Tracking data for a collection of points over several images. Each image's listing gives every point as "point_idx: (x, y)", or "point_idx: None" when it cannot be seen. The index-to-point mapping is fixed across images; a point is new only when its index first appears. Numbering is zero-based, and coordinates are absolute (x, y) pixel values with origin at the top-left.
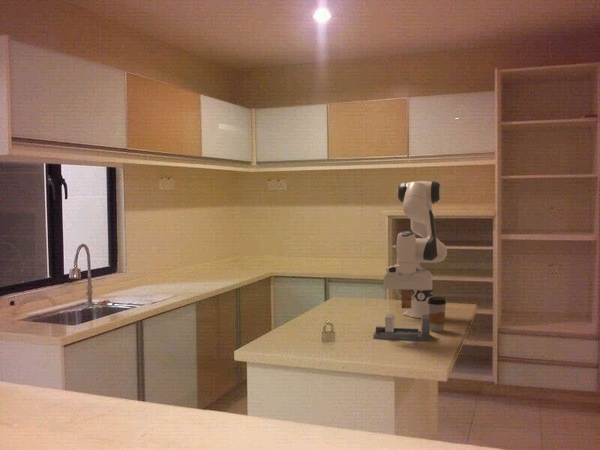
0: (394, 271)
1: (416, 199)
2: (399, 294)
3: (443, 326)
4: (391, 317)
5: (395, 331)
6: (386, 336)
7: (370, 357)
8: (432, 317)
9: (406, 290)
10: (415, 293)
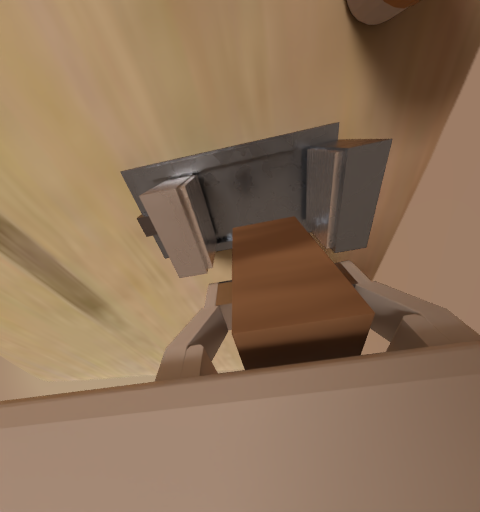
0: None
1: None
2: (222, 336)
3: None
4: (203, 271)
5: (205, 184)
6: None
7: (227, 353)
8: None
9: (300, 346)
10: (393, 333)
